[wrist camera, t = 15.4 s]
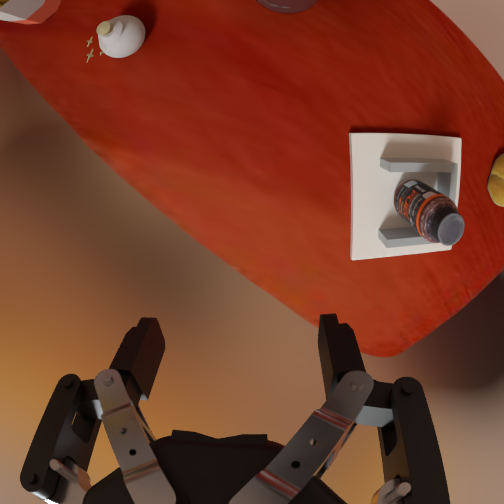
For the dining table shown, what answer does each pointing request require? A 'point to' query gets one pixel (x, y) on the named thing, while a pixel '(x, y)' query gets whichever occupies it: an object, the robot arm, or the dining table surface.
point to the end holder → (387, 182)
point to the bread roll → (497, 181)
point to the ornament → (120, 36)
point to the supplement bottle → (429, 212)
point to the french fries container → (27, 10)
